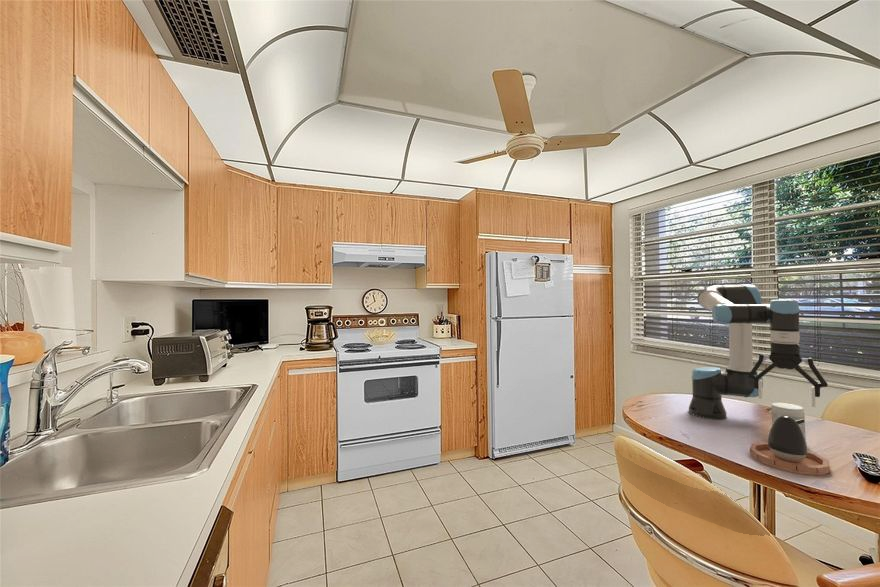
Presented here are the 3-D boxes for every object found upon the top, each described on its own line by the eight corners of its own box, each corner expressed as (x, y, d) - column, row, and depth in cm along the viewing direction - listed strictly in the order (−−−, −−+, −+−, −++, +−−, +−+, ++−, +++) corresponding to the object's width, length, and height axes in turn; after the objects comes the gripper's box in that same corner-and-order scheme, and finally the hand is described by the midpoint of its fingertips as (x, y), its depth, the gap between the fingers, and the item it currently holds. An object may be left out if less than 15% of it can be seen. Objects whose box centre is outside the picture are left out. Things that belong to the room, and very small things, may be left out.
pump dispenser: (817, 466, 120) (816, 422, 120) (781, 464, 122) (780, 420, 122) (793, 453, 130) (792, 412, 130) (761, 451, 132) (760, 411, 132)
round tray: (754, 444, 140) (754, 438, 140) (829, 461, 125) (829, 454, 125) (746, 460, 126) (746, 453, 126) (829, 481, 112) (829, 473, 112)
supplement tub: (810, 444, 139) (809, 407, 140) (799, 449, 135) (798, 410, 136) (779, 436, 148) (778, 401, 148) (767, 440, 144) (766, 404, 144)
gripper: (737, 340, 133) (739, 396, 133) (837, 347, 115) (838, 412, 114) (741, 338, 138) (742, 392, 138) (836, 344, 120) (838, 407, 119)
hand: (786, 401), depth 126 cm, fingers open, 13 cm apart
